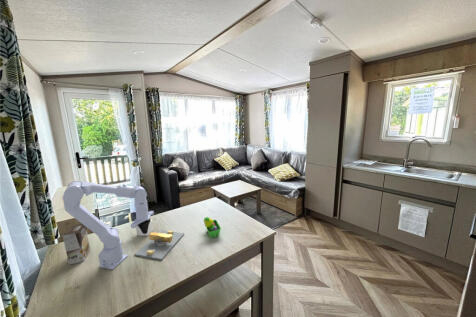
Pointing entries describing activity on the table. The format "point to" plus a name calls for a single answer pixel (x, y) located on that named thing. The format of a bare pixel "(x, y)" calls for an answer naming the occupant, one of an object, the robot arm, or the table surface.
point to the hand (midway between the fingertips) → (144, 233)
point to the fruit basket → (212, 227)
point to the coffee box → (76, 243)
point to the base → (159, 247)
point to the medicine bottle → (150, 229)
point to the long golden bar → (160, 238)
